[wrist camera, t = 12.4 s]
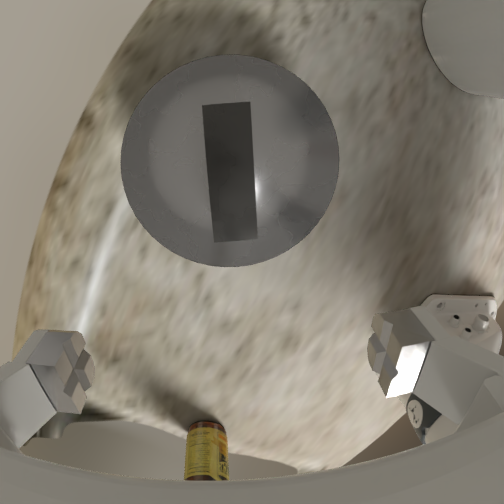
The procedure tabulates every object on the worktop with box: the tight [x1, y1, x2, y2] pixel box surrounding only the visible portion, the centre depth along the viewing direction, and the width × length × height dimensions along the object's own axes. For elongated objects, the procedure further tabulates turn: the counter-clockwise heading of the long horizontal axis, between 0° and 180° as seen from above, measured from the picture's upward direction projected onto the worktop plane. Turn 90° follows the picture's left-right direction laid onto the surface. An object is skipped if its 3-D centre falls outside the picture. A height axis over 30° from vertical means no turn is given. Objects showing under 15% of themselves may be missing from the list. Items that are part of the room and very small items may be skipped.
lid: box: [121, 55, 339, 267], centre depth 20 cm, size 15×15×6 cm
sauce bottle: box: [184, 421, 229, 481], centre depth 36 cm, size 6×6×20 cm
